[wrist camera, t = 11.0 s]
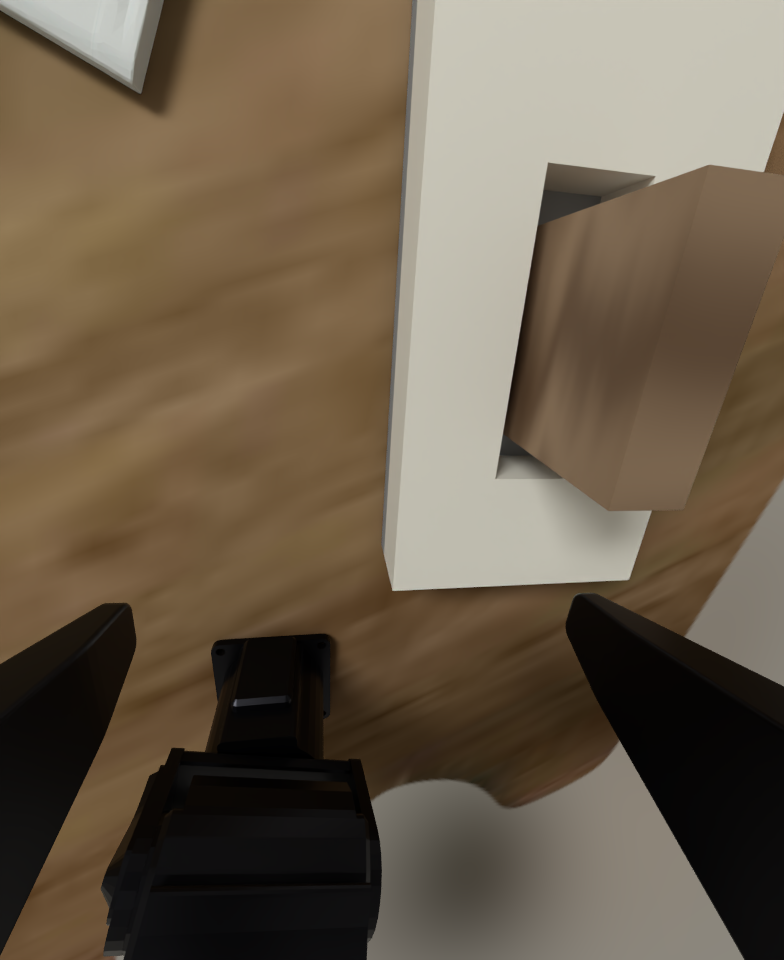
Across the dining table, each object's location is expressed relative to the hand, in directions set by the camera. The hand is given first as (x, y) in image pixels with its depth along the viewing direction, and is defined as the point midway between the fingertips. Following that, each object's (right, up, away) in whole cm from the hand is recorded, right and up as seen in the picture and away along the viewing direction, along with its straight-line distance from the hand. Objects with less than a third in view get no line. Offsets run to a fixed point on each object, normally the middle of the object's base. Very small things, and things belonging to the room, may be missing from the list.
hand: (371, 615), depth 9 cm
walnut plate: (+7, +9, +10) cm, 15 cm away
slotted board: (+6, +9, +11) cm, 16 cm away
